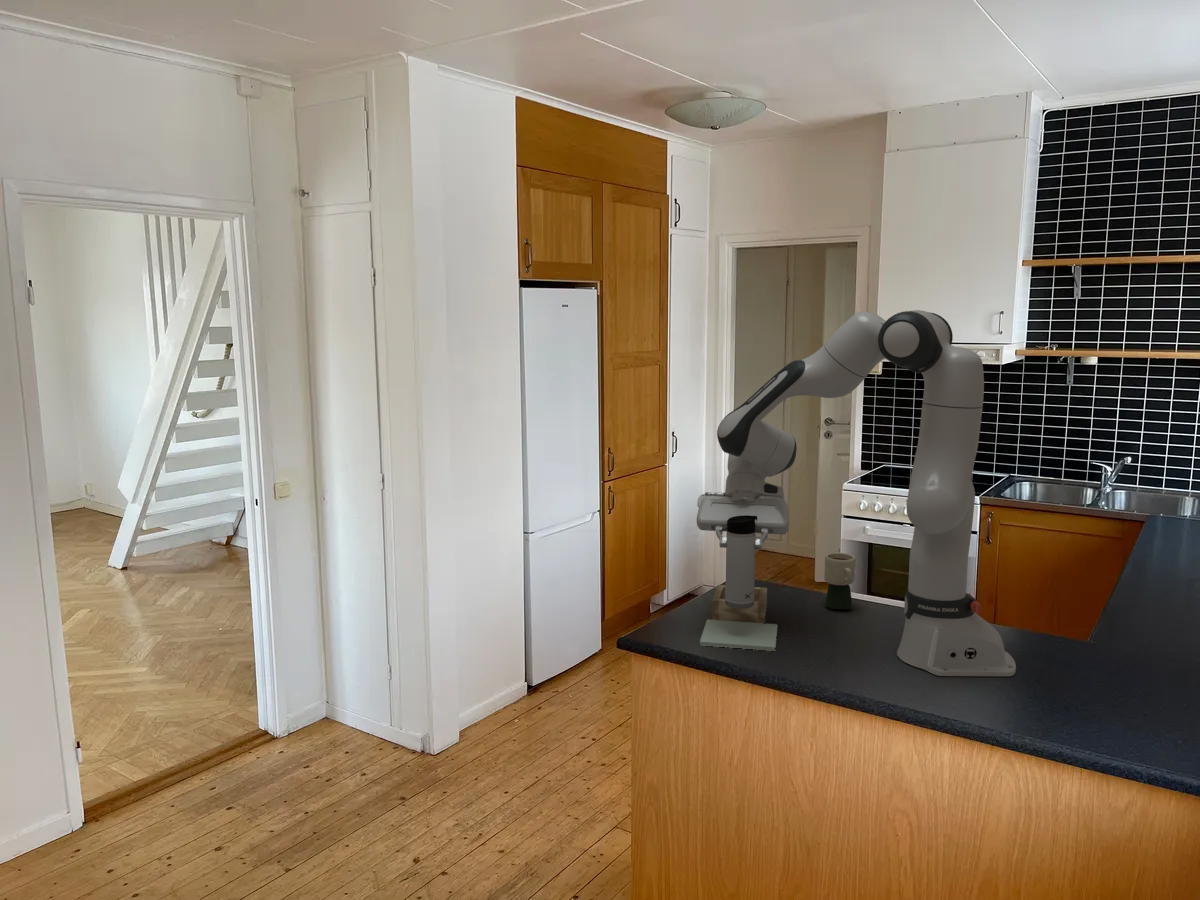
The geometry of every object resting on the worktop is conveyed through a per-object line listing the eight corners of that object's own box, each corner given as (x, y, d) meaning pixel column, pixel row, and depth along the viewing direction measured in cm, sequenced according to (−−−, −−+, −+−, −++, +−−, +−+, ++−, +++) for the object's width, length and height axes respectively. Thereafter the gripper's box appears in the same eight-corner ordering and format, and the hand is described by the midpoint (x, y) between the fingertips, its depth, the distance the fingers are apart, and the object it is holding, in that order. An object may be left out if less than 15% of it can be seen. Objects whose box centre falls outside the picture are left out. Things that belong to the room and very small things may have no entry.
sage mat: (777, 628, 198) (777, 624, 198) (775, 651, 184) (775, 647, 184) (706, 623, 201) (706, 619, 201) (699, 646, 188) (699, 641, 188)
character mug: (862, 614, 206) (864, 561, 204) (834, 616, 205) (836, 563, 203) (842, 600, 217) (844, 549, 215) (815, 601, 216) (816, 551, 214)
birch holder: (766, 607, 212) (767, 587, 211) (764, 624, 200) (764, 603, 200) (717, 604, 215) (717, 584, 214) (712, 620, 203) (712, 600, 202)
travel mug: (755, 610, 188) (757, 520, 185) (724, 608, 189) (726, 518, 186) (755, 600, 194) (757, 513, 191) (725, 599, 195) (727, 512, 192)
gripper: (697, 484, 197) (691, 537, 189) (790, 488, 192) (787, 542, 184) (699, 499, 202) (694, 551, 194) (789, 503, 197) (787, 557, 189)
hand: (740, 547), depth 189 cm, fingers closed on travel mug, 6 cm apart
